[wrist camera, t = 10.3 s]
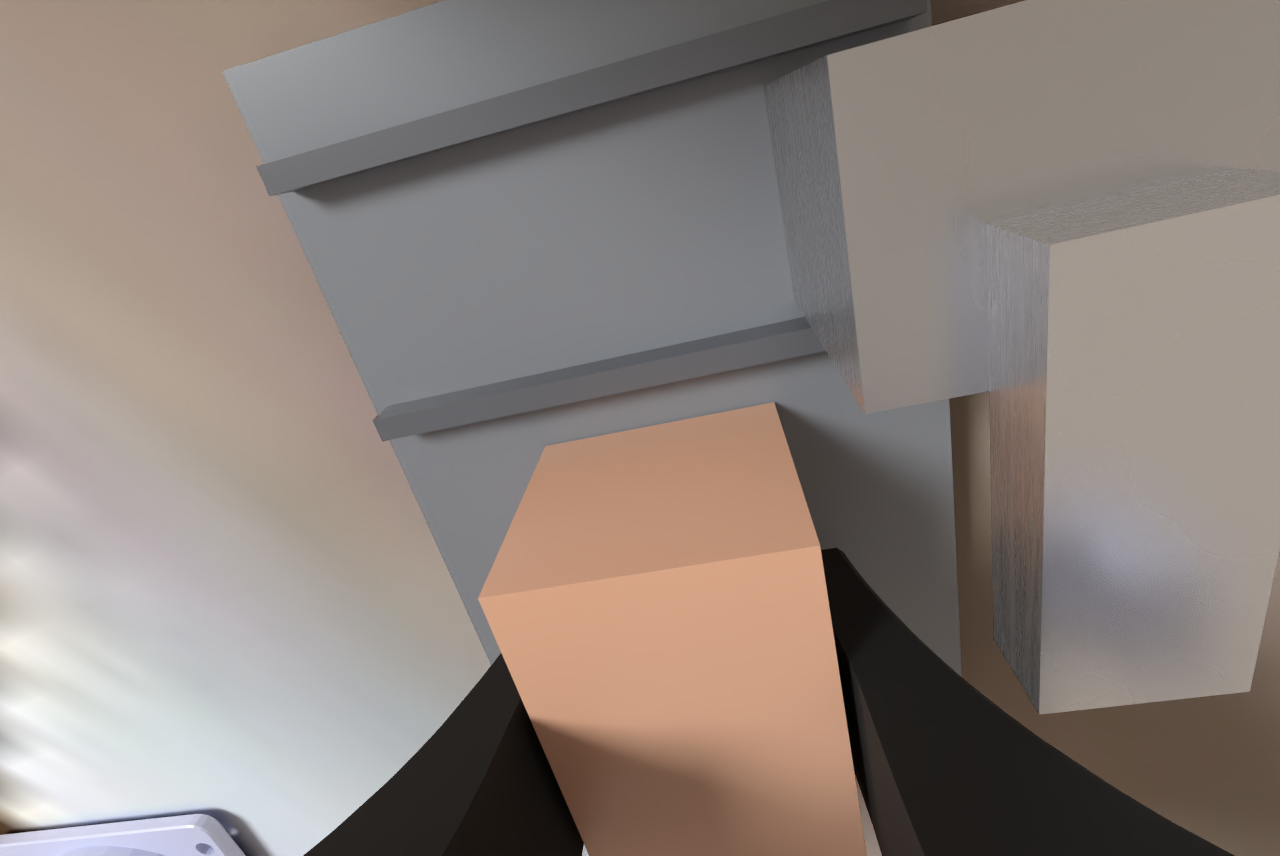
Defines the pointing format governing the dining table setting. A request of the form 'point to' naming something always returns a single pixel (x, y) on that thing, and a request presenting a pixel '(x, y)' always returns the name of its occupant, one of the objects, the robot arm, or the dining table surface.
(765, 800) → the cover
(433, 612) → the dining table surface
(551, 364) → the board
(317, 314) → the dining table surface
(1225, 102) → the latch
